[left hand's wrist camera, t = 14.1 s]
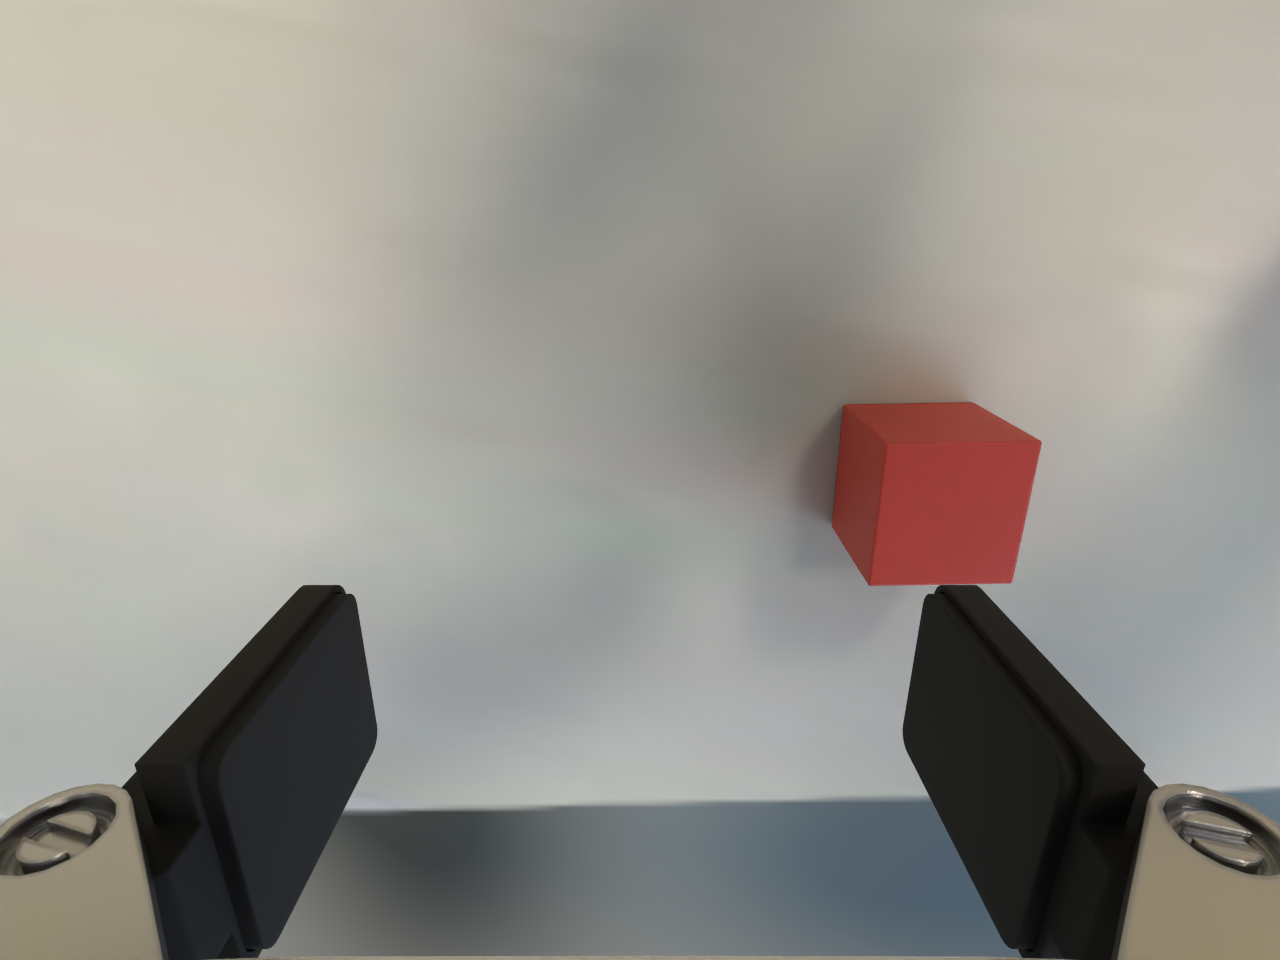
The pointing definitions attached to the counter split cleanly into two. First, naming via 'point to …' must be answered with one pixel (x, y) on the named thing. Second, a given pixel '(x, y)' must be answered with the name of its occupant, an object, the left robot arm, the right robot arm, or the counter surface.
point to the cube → (932, 493)
